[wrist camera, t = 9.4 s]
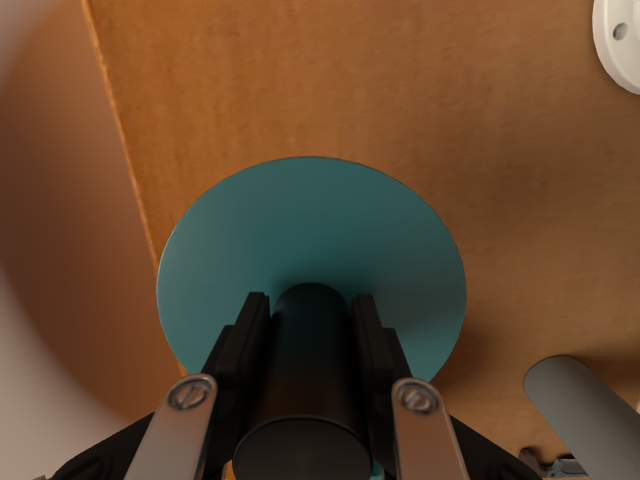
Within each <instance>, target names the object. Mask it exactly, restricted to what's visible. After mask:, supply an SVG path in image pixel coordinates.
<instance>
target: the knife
mask: <svg viewBox="0 0 640 480" xmlns="http://www.w3.org/2000/svg"><path fill="white" fill-rule="evenodd" d="M519 460H521V461H522V462H524V463H525V464H526V465H528V466H529V467H530V468H532V469H533V470H534V471H535V472H536V473H537V474H538V475H539V476H540V477H541V478H546V477H547V478H561V477H590V476H589V475H588V474H587V472H586V471H585V470H584V469H583V467H582V466H581V465H580V464H579V462H578V461H577V460H576V459H557V460H555V463H554V465H553V466H552V467H547V468H545V467H544V466H541V465H539V463H538V459H537V457H536V455H535V453H534V452H533V451H531V450H528V449H524V450H521V451H520V454H519Z"/></svg>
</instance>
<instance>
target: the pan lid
mask: <svg viewBox="0 0 640 480" xmlns="http://www.w3.org/2000/svg"><path fill="white" fill-rule="evenodd" d="M249 292H264V294H265V296H269V298H270V317H271V319H270V322H269V326H268V329H267V333H266V337H265V340H264V344H263V347H262V351H261V354H260V358H259V361H258V365H257V369H256V372H255V376H254V379H253V383H252V386H251V390H250V393H249V397H248V401H247V404H246V408H245V411H244V415H243V418H242V422H241V425H240V429H239V433H238V436H237V440H236V443H235V447H234V450H233V455H232V468H233V473H234V476H235V478H236V480H370V478H371V475H372V470H373V457H372V451H371V444H370V438H369V432H368V425H367V419H366V413H365V406H364V400H363V394H362V388H361V381H360V375H359V369H358V362H357V356H356V350H355V343H354V337H353V331H352V324H351V308H352V297H357V294H372V296H373V299H374V302H375V305H376V308H377V311H378V315H379V318H380V321H381V324H382V327H386V328H394V329H395V331H396V333H397V336H398V338H399V341H400V344H401V346H402V349H403V352H404V354H405V357H406V360H407V362H408V365H409V368H410V370H411V373H412V375H413V377H415V378H420V379H423V380H425V381H427V382H429V381H430V380H431V379H432V378H433V377H434V376H435V375H436V374H437V372H438V371H439V370H440V369H441V367H442V366H443V365H444V363H445V362H446V360H447V359H448V357H449V355H450V354H451V352H452V350H453V348H454V346H455V344H456V342H457V339H458V337H459V335H460V331H461V328H462V324H463V321H464V316H465V309H466V279H465V273H464V267H463V263H462V260H461V257H460V254H459V251H458V248H457V245H456V244H455V242H454V240H453V238H452V236H451V234H450V232H449V230H448V228H447V227H446V226H445V224H444V223H443V221H442V220H441V219H440V217H439V216H438V215H437V213H436V212H435V211H434V210H433V209H432V208H431V207H430V206H429V205H428V204H427V203H426V202H425V201H424V200H423V199H422V198H421V197H420V196H419V195H417V194H416V193H415V192H413V191H412V190H411V189H409V188H408V187H407V186H405V185H404V184H403V183H401V182H399V181H398V180H396V179H394V178H392V177H390V176H388V175H386V174H385V173H383V172H381V171H379V170H376V169H373V168H371V167H368V166H365V165H363V164H360V163H356V162H352V161H348V160H343V159H339V158H331V157H319V156H302V157H288V158H282V159H277V160H272V161H267V162H264V163H261V164H258V165H255V166H252V167H249V168H246V169H244V170H241V171H239V172H238V173H236V174H234V175H232V176H230V177H228V178H226V179H224V180H222V181H220V182H219V183H218V184H216V185H215V186H213V187H212V188H211V189H209V190H208V191H206V192H205V193H204V194H203V195H202V196H201V197H199V198H198V199H197V200H196V201H195V202H194V203H193V204H192V205H191V206H190V207H189V208H188V209H187V211H186V212H185V213H184V215H183V216H182V217H181V219H180V220H179V221H178V222H177V224H176V226H175V227H174V229H173V231H172V233H171V235H170V236H169V238H168V240H167V243H166V245H165V248H164V251H163V254H162V256H161V259H160V265H159V270H158V275H157V293H156V295H157V304H158V313H159V317H160V321H161V324H162V328H163V331H164V333H165V336H166V338H167V340H168V343H169V345H170V347H171V349H172V350H173V352H174V354H175V355H176V357H177V359H178V360H179V362H180V363H181V364H182V366H183V367H184V368H185V369H186V371H187V372H188V373H189V374H195V373H200V372H201V370H202V368H203V366H204V364H205V362H206V360H207V358H208V356H209V354H210V352H211V351H212V349H213V347H214V345H215V343H216V341H217V339H218V337H219V335H220V333H221V331H222V329H223V327H224V326H225V325H234V324H235V322H236V320H237V318H238V315H239V313H240V311H241V309H242V307H243V305H244V302H245V300H246V298H247V296H248V294H249Z"/></svg>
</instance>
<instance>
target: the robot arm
mask: <svg viewBox="0 0 640 480" xmlns="http://www.w3.org/2000/svg"><path fill="white" fill-rule="evenodd" d="M592 24H593V39H594V43H595V46H596V50H597V54H598V57H599V59H600V61H601V63H602V65H603V67H604V68H605V70H606V72H607V73H608V74H609V75H610V76H611V78H612V79H613V80H614V81H615V82H616V83H617V84H618V85H620V86H621V87H623V88H625V89H626V90H628V91H629V92H631V93H634V94H637V95H640V0H594V6H593V15H592ZM270 319H271V317H270V298H269V296H265V294H264V292H249V294H248V296H247V298H246V300H245V302H244V305H243V307H242V309H241V311H240V313H239V315H238V318H237V320H236V322H235V324H234V325H225V326H224V327H223V329H222V331H221V333H220V335H219V337H218V339H217V341H216V343H215V345H214V347H213V349H212V351H211V352H210V354H209V356H208V358H207V360H206V362H205V364H204V366H203V368H202V370H201V372H200V373H195V374H190V375H187V376H184V377H182V378H180V379H178V380H177V381H175V382H174V383H173V384H172V385H170V387H168V388H167V390H166V391H165V393H164V395H163V397H162V399H161V401H160V403H159V405H158V407H157V409H156V411H155V412H153V413H151V414H149V415H147V416H146V417H144V418H143V419H140V420H139V421H137V422H135V423H133V424H131V425H130V426H128V427H126V428H125V429H123V430H121V431H119V432H117V433H115V434H114V435H112V436H110V437H109V438H107V439H105V440H103V441H101V442H100V443H98V444H96V445H94V446H92V447H91V448H89V449H87V450H85V451H84V452H82V453H80V454H78V455H77V456H75V457H74V458H72V459H71V460H69V461H68V462H66V463H65V464H64V465H63V466H62V467H61V468H60V469H59V470H58V471H56V473H55V474H54V475H53V476H52V478H49V479H47V480H225V477H226V472H227V462H229V461H230V460H231V459H232V455H233V450H234V447H235V443H236V440H237V436H238V433H239V429H240V425H241V422H242V418H243V415H244V411H245V408H246V404H247V401H248V397H249V393H250V390H251V386H252V383H253V379H254V376H255V372H256V369H257V365H258V361H259V358H260V354H261V351H262V347H263V344H264V340H265V337H266V333H267V329H268V326H269V322H270ZM351 324H352V331H353V337H354V343H355V350H356V356H357V362H358V369H359V375H360V381H361V388H362V394H363V400H364V406H365V413H366V419H367V425H368V432H369V438H370V444H371V451H372V457H373V459H374V460H375V461H376V462H377V463H378V464H379V465H381V466H382V470H381V473H382V480H543V479H542V478H541V477H540V476H539V475H538V474H537V473H536V472H535V471H534V470H533V469H532V468H530V467H529V466H528V465H526V464H525V463H524V462H522V461H521V460H519V459H518V458H516V457H515V456H513V455H511V454H510V453H508V452H507V451H505V450H504V449H502V448H501V447H499V446H498V445H496V444H494V443H493V442H491V441H490V440H488V439H487V438H485V437H484V436H482V435H481V434H479V433H477V432H476V431H474V430H473V429H471V428H470V427H468V426H467V425H465V424H463V423H462V422H460V421H459V420H457V419H456V418H454V417H453V416H451V415H450V414H449V413H448V410H447V407H446V404H445V401H444V398H443V397H442V395H441V393H440V392H439V391H438V389H437V388H436V387H435V386H433V385H432V384H430V383H429V382H427V381H425V380H423V379H420V378H415V377H413V375H412V373H411V370H410V368H409V365H408V362H407V360H406V357H405V354H404V352H403V349H402V346H401V344H400V341H399V338H398V336H397V333H396V331H395V329H394V328H386V327H382V324H381V321H380V318H379V315H378V311H377V308H376V305H375V302H374V299H373V296H372V294H357V297H352V308H351ZM33 480H46V478H45V476H44V475H43V476H41V477H38V478H35V479H33Z"/></svg>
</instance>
